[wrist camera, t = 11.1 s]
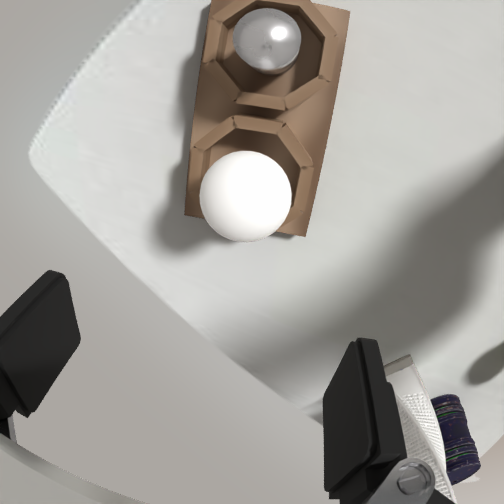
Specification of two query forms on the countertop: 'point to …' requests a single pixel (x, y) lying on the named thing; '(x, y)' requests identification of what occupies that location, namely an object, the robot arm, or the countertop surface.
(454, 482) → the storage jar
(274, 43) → the grey domed cylinder
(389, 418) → the robot arm
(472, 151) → the countertop surface
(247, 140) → the socket board
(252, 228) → the lightbulb
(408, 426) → the skyscraper
